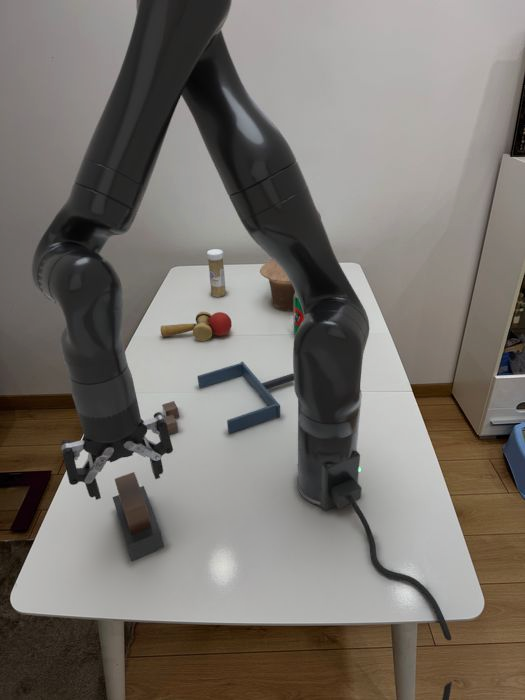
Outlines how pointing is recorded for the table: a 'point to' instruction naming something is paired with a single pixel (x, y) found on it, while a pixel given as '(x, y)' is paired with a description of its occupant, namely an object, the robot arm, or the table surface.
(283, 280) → the pitcher
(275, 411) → the frame
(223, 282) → the sprinkles bottle
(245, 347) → the table surface
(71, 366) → the robot arm
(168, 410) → the crumb
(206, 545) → the table surface
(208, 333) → the kendama
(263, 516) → the table surface
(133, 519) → the eraser
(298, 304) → the soda can
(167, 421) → the crumb
